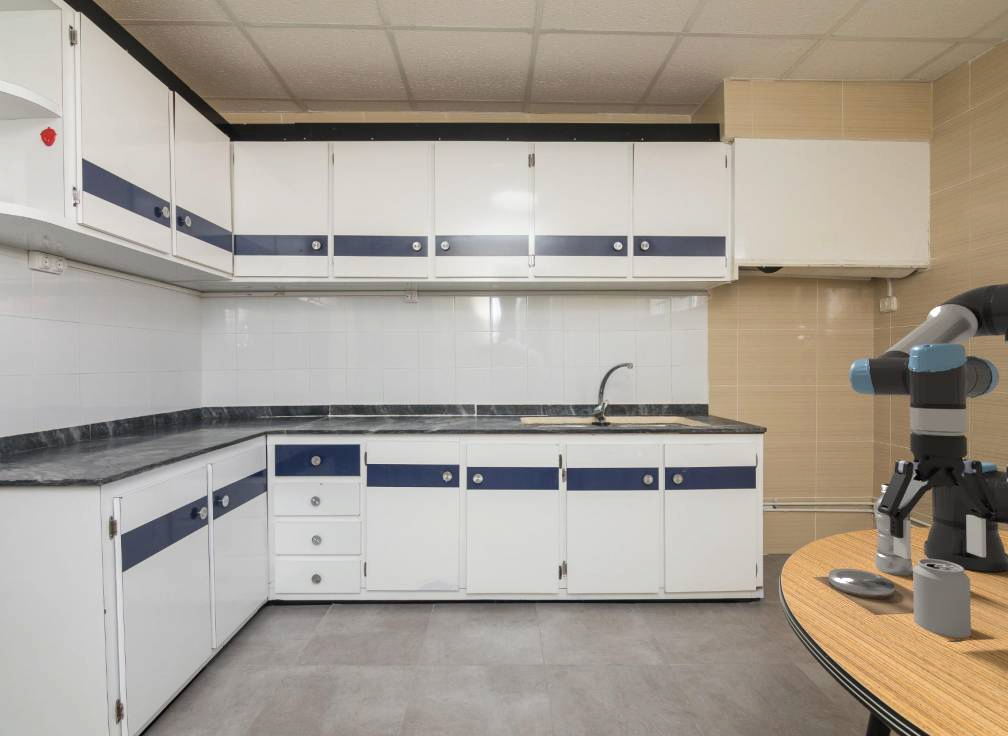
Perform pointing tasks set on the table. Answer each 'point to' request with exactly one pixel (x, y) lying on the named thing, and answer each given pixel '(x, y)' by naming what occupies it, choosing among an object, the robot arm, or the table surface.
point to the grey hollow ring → (861, 584)
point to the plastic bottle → (888, 545)
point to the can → (942, 598)
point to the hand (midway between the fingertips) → (939, 555)
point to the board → (895, 605)
